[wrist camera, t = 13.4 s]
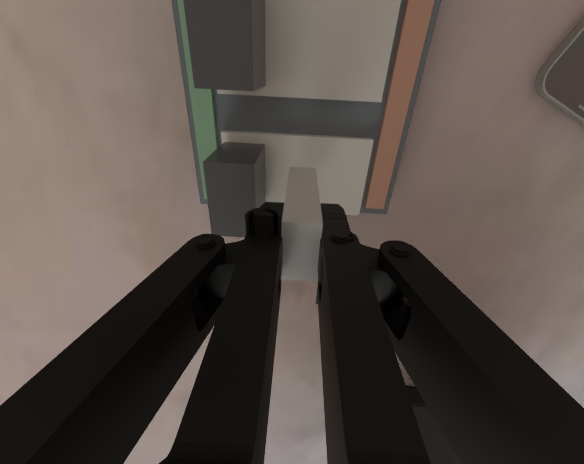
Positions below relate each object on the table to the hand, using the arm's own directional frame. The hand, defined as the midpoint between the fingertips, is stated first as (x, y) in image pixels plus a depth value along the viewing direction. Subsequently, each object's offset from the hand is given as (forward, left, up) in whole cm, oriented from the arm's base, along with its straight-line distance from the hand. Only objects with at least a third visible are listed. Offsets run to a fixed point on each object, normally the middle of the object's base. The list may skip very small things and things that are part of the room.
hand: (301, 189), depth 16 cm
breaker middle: (+3, -7, -1) cm, 8 cm away
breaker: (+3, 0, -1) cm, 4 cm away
